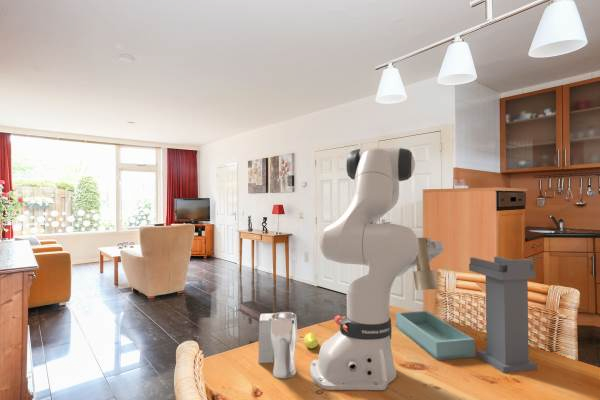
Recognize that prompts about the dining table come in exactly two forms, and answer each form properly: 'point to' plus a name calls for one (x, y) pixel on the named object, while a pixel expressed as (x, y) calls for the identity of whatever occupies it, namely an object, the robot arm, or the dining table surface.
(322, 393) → the dining table surface
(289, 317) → the beer glass
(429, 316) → the teal bin
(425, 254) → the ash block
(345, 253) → the robot arm
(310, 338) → the lemon
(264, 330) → the skincare box
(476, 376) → the dining table surface
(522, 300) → the chute stand
